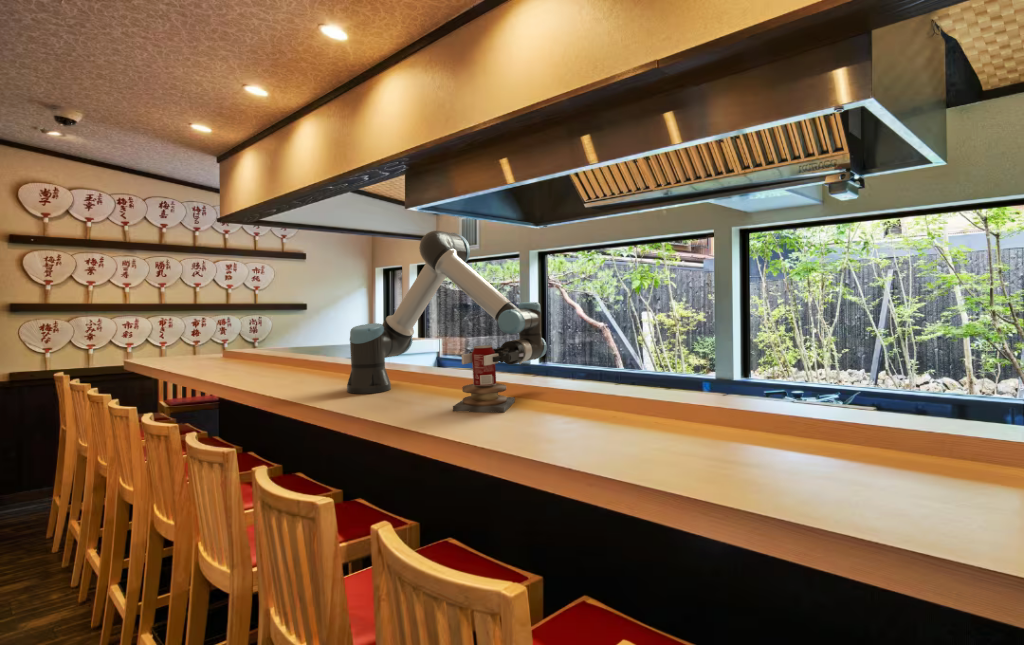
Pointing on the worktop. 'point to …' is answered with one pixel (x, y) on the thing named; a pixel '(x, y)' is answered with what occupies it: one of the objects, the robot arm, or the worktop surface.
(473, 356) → the soda can
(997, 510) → the worktop surface
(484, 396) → the spool
